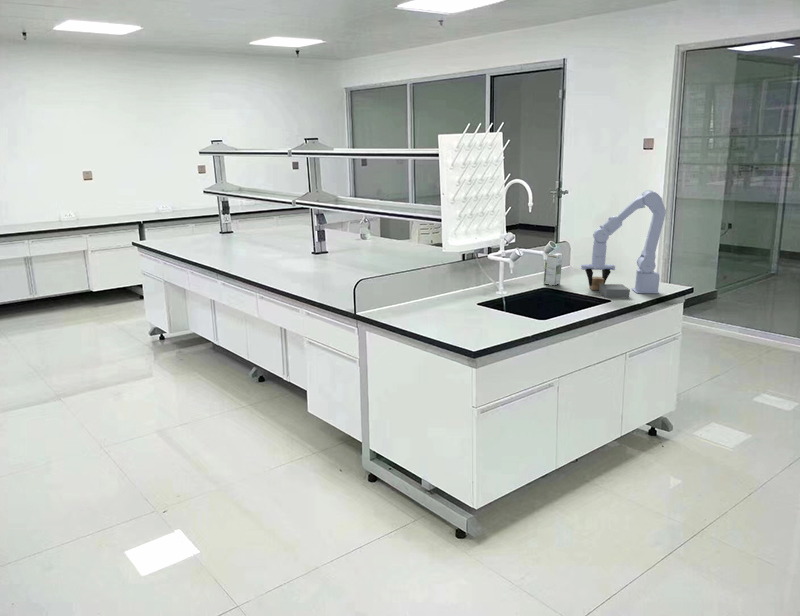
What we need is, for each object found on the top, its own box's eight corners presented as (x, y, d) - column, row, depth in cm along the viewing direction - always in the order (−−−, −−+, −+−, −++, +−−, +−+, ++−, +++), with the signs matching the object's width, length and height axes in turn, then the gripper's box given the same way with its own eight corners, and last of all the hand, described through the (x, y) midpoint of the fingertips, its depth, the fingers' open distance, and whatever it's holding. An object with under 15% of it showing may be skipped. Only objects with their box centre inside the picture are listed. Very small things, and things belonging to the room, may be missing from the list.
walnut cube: (600, 287, 291) (601, 276, 290) (603, 290, 287) (604, 279, 285) (589, 287, 292) (590, 276, 290) (592, 289, 287) (592, 278, 285)
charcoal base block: (621, 293, 284) (622, 284, 283) (629, 298, 275) (629, 289, 274) (598, 292, 284) (599, 284, 283) (605, 298, 275) (606, 289, 274)
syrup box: (548, 282, 302) (551, 251, 299) (560, 284, 299) (562, 253, 295) (543, 284, 298) (545, 253, 294) (554, 286, 294) (557, 255, 291)
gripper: (612, 254, 289) (610, 283, 292) (580, 253, 289) (578, 283, 293) (617, 257, 282) (614, 287, 286) (584, 256, 282) (581, 286, 286)
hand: (596, 285), depth 289 cm, fingers closed on walnut cube, 5 cm apart
